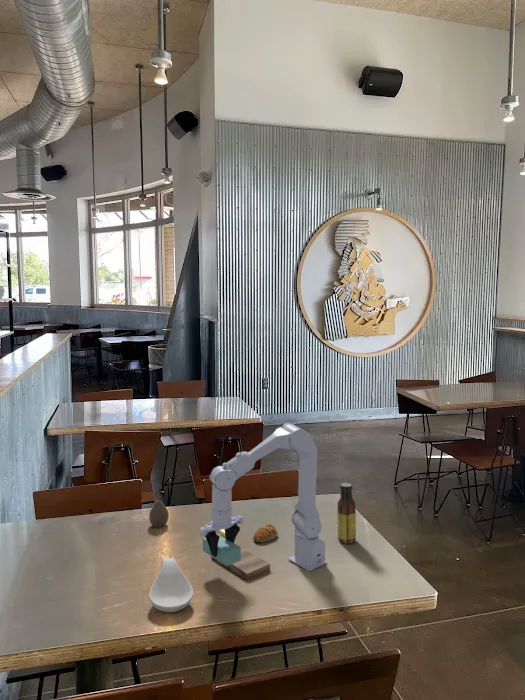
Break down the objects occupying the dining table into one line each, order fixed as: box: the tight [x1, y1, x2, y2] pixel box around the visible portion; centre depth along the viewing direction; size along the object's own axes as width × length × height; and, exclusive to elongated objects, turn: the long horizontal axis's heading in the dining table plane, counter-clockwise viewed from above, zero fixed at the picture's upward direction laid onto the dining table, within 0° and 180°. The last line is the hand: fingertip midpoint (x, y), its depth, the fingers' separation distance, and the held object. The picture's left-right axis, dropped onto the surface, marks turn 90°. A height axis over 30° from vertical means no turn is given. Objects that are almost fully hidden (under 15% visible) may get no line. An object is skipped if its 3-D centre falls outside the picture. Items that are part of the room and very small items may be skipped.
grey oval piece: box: [148, 500, 169, 528], centre depth 190 cm, size 7×7×9 cm
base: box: [210, 535, 271, 581], centre depth 163 cm, size 18×9×6 cm, turn 41°
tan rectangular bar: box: [216, 529, 226, 538], centre depth 169 cm, size 6×2×2 cm, turn 41°
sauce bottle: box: [336, 482, 357, 545], centre depth 179 cm, size 7×6×20 cm
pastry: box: [252, 523, 279, 544], centre depth 181 cm, size 9×7×4 cm
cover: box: [202, 534, 242, 567], centre depth 154 cm, size 12×5×4 cm, turn 41°
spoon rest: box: [148, 557, 195, 613], centre depth 145 cm, size 24×12×7 cm, turn 14°
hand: (221, 552), depth 154 cm, fingers closed on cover, 5 cm apart
